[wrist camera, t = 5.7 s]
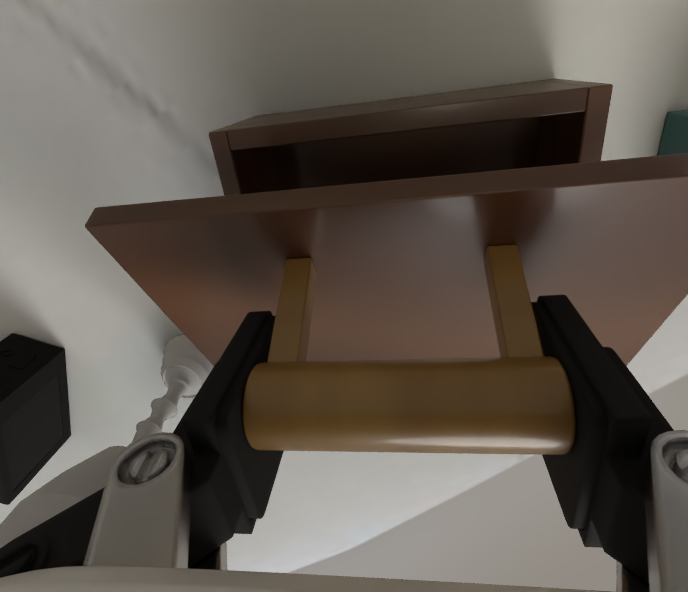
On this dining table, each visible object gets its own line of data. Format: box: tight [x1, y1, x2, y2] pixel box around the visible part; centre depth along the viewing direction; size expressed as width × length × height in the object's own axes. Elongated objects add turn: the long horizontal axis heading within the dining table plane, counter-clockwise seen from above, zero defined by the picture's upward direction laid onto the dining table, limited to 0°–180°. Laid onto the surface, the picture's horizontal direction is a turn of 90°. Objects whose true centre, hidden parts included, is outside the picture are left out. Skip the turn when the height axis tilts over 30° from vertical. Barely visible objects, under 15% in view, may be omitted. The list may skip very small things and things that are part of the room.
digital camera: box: [0, 334, 71, 505], centre depth 32 cm, size 10×5×7 cm, turn 164°
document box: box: [209, 79, 613, 196], centre depth 22 cm, size 17×15×6 cm
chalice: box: [0, 335, 214, 548], centre depth 24 cm, size 7×7×18 cm
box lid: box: [85, 153, 688, 455], centre depth 15 cm, size 17×15×5 cm
